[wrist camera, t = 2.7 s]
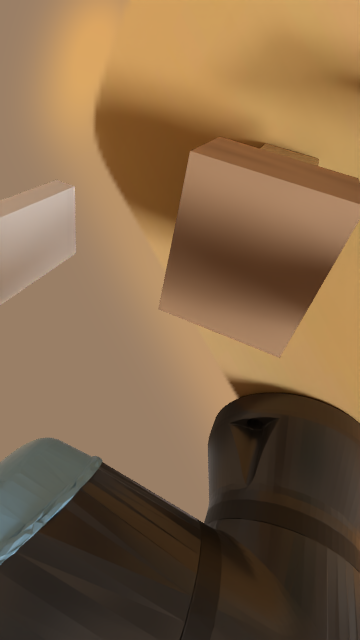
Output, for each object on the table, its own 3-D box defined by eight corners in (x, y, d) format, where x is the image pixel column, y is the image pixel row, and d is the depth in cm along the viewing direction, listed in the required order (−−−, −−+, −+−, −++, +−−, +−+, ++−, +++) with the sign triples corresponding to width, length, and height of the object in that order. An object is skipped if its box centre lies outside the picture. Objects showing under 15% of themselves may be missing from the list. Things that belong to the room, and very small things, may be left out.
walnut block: (287, 310, 18) (279, 357, 15) (186, 272, 19) (158, 308, 16) (358, 178, 13) (367, 206, 10) (220, 136, 14) (190, 150, 11)
